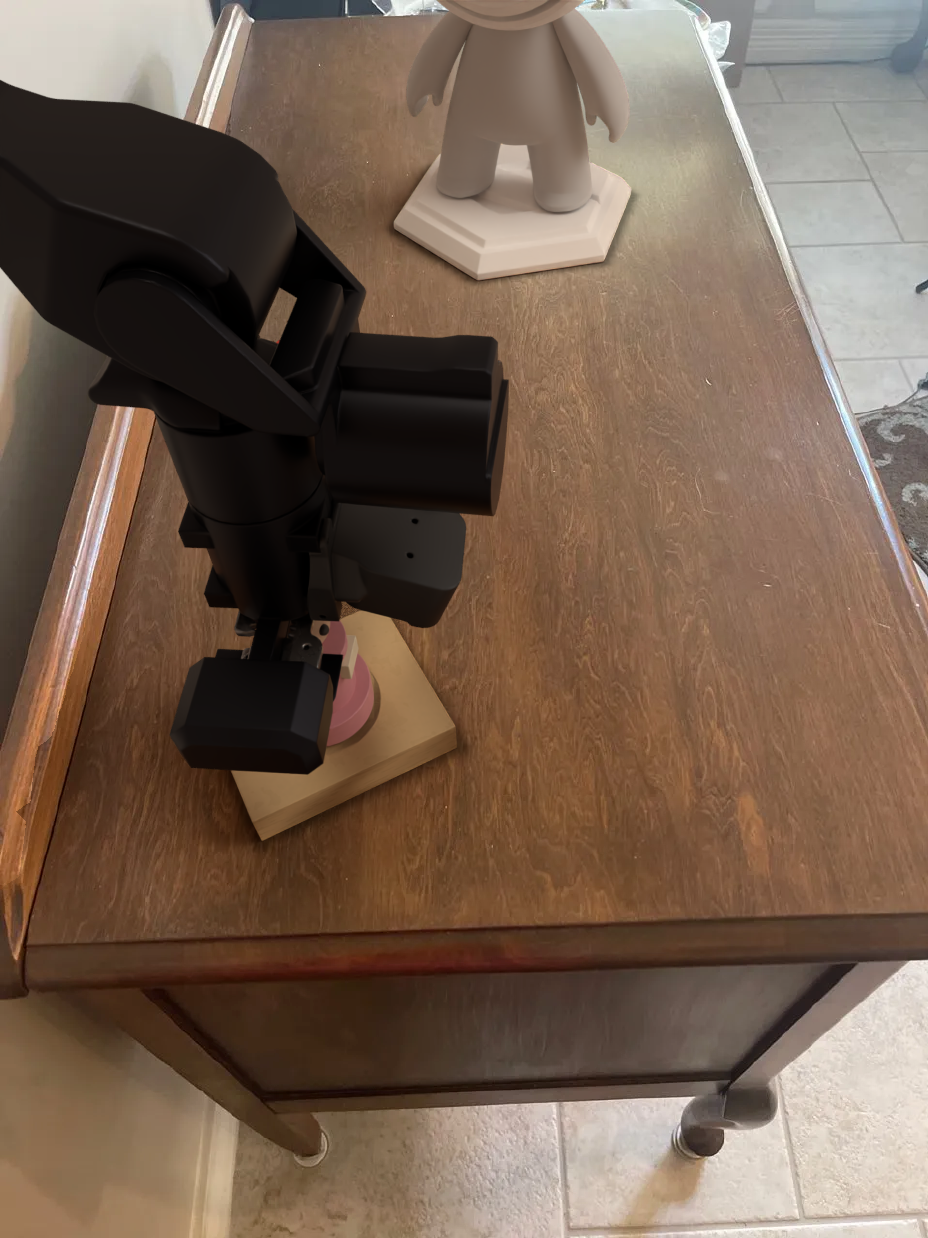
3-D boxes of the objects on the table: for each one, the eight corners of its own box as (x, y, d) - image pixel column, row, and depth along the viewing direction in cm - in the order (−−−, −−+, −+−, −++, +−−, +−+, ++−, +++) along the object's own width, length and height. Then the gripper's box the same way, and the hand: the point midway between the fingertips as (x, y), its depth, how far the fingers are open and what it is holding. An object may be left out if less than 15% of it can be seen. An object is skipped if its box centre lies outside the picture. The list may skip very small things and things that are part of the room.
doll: (256, 743, 51) (213, 643, 43) (281, 653, 54) (246, 546, 46) (363, 752, 50) (339, 653, 42) (382, 661, 54) (363, 554, 46)
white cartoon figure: (371, 263, 82) (306, -273, 54) (452, 140, 95) (433, -346, 67) (588, 299, 78) (640, -261, 50) (642, 165, 91) (708, -341, 63)
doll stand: (262, 841, 50) (252, 822, 48) (204, 703, 55) (193, 680, 53) (457, 748, 53) (455, 726, 51) (384, 625, 58) (380, 601, 56)
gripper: (427, 674, 32) (446, 851, 44) (466, 336, 43) (472, 555, 55) (112, 659, 32) (219, 837, 45) (231, 331, 43) (290, 548, 56)
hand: (314, 679), depth 50 cm, fingers closed on doll, 4 cm apart
